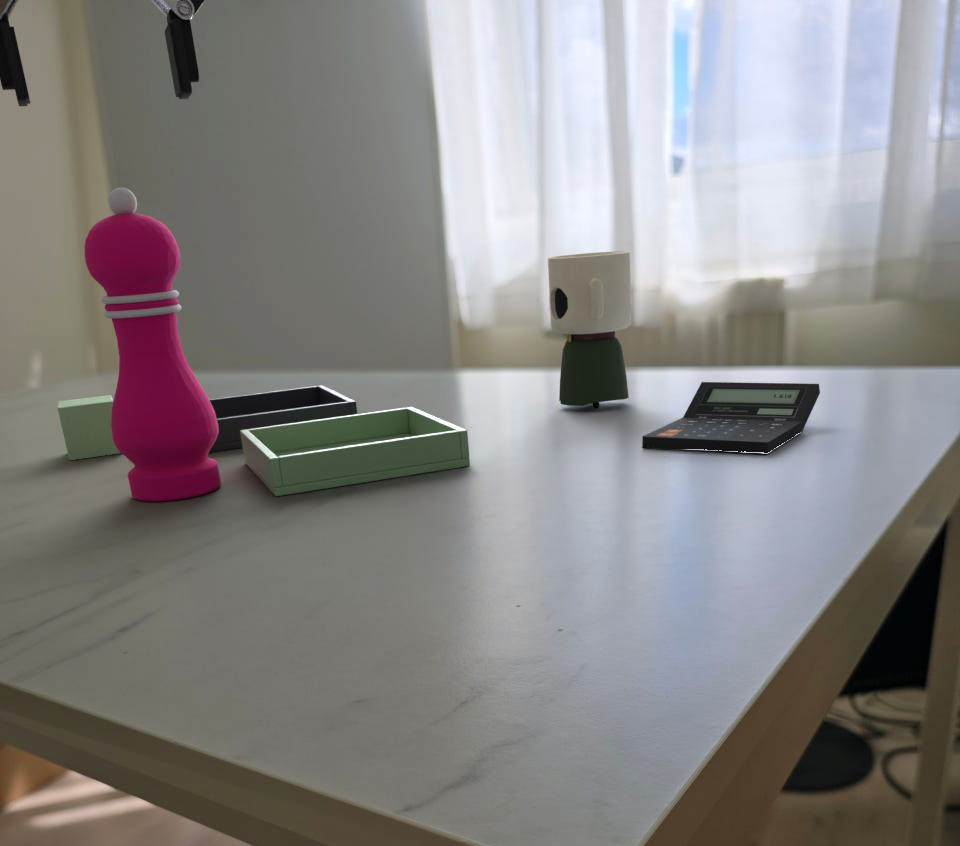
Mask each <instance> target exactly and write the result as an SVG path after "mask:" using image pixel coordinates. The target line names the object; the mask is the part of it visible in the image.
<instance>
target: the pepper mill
mask: <svg viewBox="0 0 960 846" xmlns="http://www.w3.org/2000/svg"><path fill="white" fill-rule="evenodd" d="M107 203H108V207H109V208H110V210H111V212H112V213H113V215H110V216H107V217H104V218H103V219H101V220H99V221H97V222H96V223H95V224H94V225H93V226H92V227H91V228H90V229H89V231H88V233H87V235H86V238H85V241H84V261H85V265H86V269H87V271H88V273H89V275H90V276H91V277H92V278H93V280H95V282H97V283H98V285H100V286H101V287H102V288H103V290H104V291H105V294H106V295H105V296H102V297H101V302H102V304H105V305H104V309H105V311H104V314H103V315H104V317H105V318H106V319H111V322H112V326H113V330H114V334H115V337H116V341H117V343H116V344H117V349H118V357H119V359H118V361H119V362H118V377H117V382H116V388H115V393H114V397H113V406H112V414H111V429H112V437H113V442H114V445H115V446H116V448H117V449H118V450H119V451H120V452H121V455H123V456H124V457H125V458H127V460H129V461H130V462H131V463H132V464H133V465H134V467H132V468H130V470H128V472H127V478H128V483H129V489H130V492H131V496H132V498H134V499H135V500H138V501H143V502H171V501H179V500H180V501H181V500H185V499H191V498H196V497H200V496H203V495H207V494H209V493H212V492H214V491H215V490H218V489H219V488H220V487H221V485H222V481H221V475H220V468H219V463H218V461H217V460H215V459H214V458H211V457H209V453H210V452H209V451H210V449H211V448H212V446H213V444H214V443H215V441H216V439H217V437H218V433H219V426H218V422H217V418H216V414H215V411H214V409H213V406H212V404H211V402H210V400H209V399H210V398H209V396H208V394H207V393H206V391H205V389H204V388H203V386H202V385H201V383H200V382H199V380H198V378H197V377H196V375H195V373H194V372H193V370H192V368H191V367H190V365H189V363H188V359H187V357H186V355H185V353H184V349H183V346H182V342H181V338H180V334H179V327H178V317H177V313H179V312H180V311H182V308H183V307H182V306H181V304H179V301H180V299H178V298H179V296H180V292H179V291H178V290H176V289H173V283H174V280H175V278H176V276H177V275H178V273H179V271H180V267H181V253H180V249H179V245H178V242H177V240H176V238H175V236H174V235H173V233H172V231H171V230H170V229H169V228H168V227H167V226H166V225H165V224H164V223H163V222H161V221H160V220H158V219H156V218H154V217H152V216H149V215H147V214H142V213H135V212H136V211H137V208H138V201H137V197H136V196H135V194H134V193H133V192H132V191H131V190H130V189H129V188H126V187H116V188H114V189H112V190H111V191H110V193H109V195H108V199H107Z"/></svg>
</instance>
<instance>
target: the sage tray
mask: <svg viewBox="0 0 960 846" xmlns="http://www.w3.org/2000/svg"><path fill="white" fill-rule="evenodd" d="M240 434H241V440H242V446H243V448H242V452H243V457H244V463H245V464H246V466H248V468H249V469H250V470H251V471H252V472H253V473H254V475H256V476H257V477H258V478H259V480H260V481H261V482H262V483H263V484H264V485H265V486H266V488H267V489H268V490H269V491H270V493H272V495H274V496H275V497H282V496H288V495H295V494H301V493H307V492H312V491H313V492H314V491H320V490H326V489H332V488H338V487H344V486H350V485H351V486H352V485H358V484H364V483H371V482H376V481H377V482H378V481H382V480H390V479H395V478H402V477H409V476H413V475H414V476H415V475H421V474H427V473H433V472H439V471H440V472H441V471H446V470H453V469H458V468H465V467H470V466H471V460H470V448H469V436H468V429H465V428H463V427H460V426H458V425H455V424H454V423H451V422H449V421H446V420H444V419H442V418H439V417H436V416H434V415H432V414H430V413H427V412H425V411H423V410H420V409H418V408H416V407H413V406H407V407H401V408H400V407H399V408H394V409H393V408H392V409H387V410H386V409H385V410H379V411H372V412H371V411H370V412H364V413H357V414H356V415H348V416H341V417H334V418H326V419H319V420H312V421H304V422H297V423H290V424H282V425H275V426H268V427H261V428H253V429H248V430H247V429H246V430H240Z"/></svg>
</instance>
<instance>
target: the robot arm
mask: <svg viewBox="0 0 960 846" xmlns="http://www.w3.org/2000/svg"><path fill="white" fill-rule="evenodd" d="M150 2H151V3H152V4H153V5H154V6H155V7H156V8H157V9H158V10H159V11H160V12H161V13H162V14H163V15H164V16H165V17H166V22H167V24H166V27H165V30H164V37H165V42H166V48H167V54H168V61H169V66H170V72H171V77H172V83H173V88H174V89H173V90H174V94H175V97H176V98H178V99H179V100H188V99H189V98H190V96H191V95H192V94H193V88H192V87H193V86H192V83H199V81H200V71H199V66H198V61H197V53H196V47H195V41H194V35H193V29H192V23H191V22H192V20H193V19H194V18H195V16H196V14H197V13H198V12H199V11H200V9H201V7H202V6H203V5H204V3H205V2H206V0H150ZM18 3H19V0H0V85H1V89H2V91H12V90H14V92H15V96H16V100H17V104H18V107H28V104H29V105H30V104H31V100H30V95H29V90H28V85H27V81H26V76H25V71H24V67H23V62H22V58H21V53H20V49H19V44H18V40H17V37H16V36H17V35H16V31H15V26H11V25H10V21H9V19H10V17H11V15H12V14H13V12H14V10H15V7H16V6H17V4H18Z"/></svg>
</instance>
